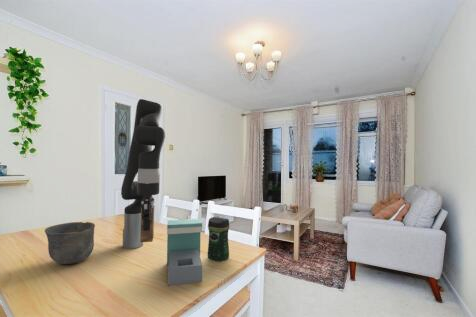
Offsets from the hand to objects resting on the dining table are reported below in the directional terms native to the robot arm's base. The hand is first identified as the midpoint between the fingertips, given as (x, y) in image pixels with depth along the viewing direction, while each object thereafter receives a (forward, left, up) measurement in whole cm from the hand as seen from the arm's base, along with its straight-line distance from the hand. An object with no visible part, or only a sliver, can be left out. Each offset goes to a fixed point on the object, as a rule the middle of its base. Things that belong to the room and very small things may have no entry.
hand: (147, 228), depth 83 cm
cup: (-34, +26, -20) cm, 47 cm away
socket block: (+14, +5, -20) cm, 24 cm away
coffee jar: (+29, +15, -20) cm, 39 cm away
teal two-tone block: (+14, +11, -20) cm, 27 cm away
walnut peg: (0, 0, -4) cm, 4 cm away
